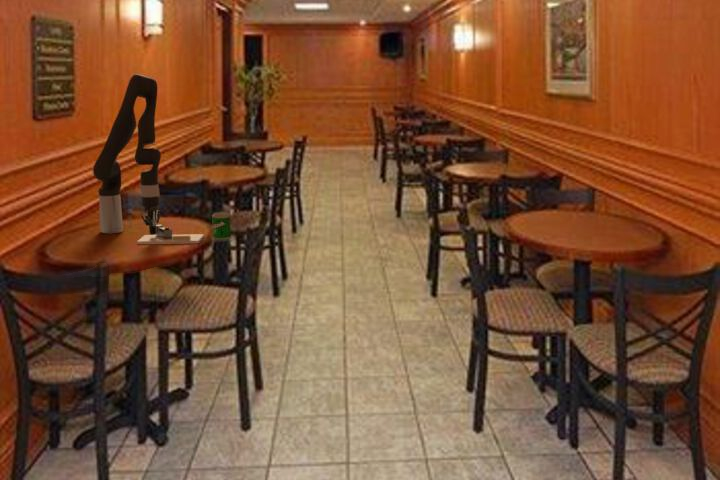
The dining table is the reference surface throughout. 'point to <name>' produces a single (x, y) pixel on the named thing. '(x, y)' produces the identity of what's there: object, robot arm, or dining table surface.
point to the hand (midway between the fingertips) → (152, 234)
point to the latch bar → (163, 232)
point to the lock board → (171, 239)
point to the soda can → (221, 226)
